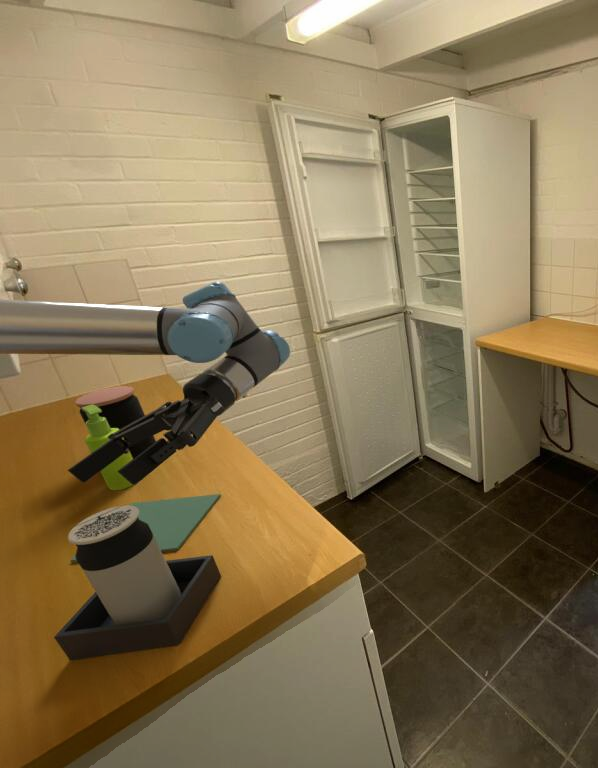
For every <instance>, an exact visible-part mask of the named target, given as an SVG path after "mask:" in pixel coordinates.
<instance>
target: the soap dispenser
mask: <svg viewBox="0 0 598 768" xmlns="http://www.w3.org/2000/svg"><path fill="white" fill-rule="evenodd" d="M82 410H83V411H85V412H86V414H87V416H88V418H89V420H88V421H87V422H86V423H85V422H84V424H85V426H86V429H87V430H88V433H89V434H88V435H86V437H85V438H84V439H83V440H84V442H85V445H86V446H87V448H88V450H89V453H90V454H91V453H93V452H94V451H96V450H97V449H98V448H100V447H101V446H103V445H104V444H106V443H107V442H108V441H110V439H109V438H108V436H109V435H110V434H112V433H114V432H116V431H118V430H119V429H118V428H110V426H109V424H108V422H107V419H106V418H105V417H99V415H98V413H101V412H102V410H101V409H99V408H98V407H97V406H95V405H93V404H92V405H89V406H85V407H82ZM122 439H123V440H124V438H122ZM131 460H133V458H132V455H131V453H130V451H129V452H128V453H127V454H123V455H121V456H120V457H119V458H117V459H116V460H115V461H113V462H112V463H111V464H109V465H108V466H106V467H105V468H104V469H102V470H101V471H100V472H99V473H100V474H101V476H102V478H103V480H104V482H105V484H106V486H107V487H108V489H109V490H110V491H121V490H125V489H128V488H130V487H133V485H132V484H131V483H130V482H129V481H128V480H127V479H125V478H124V477H123V476H122V475H121V474H120V473H119V472H117V471H118V470H120V469H121V468H122V467H124V466H125V465H126V464H128V463H129V462H130V461H131Z"/></svg>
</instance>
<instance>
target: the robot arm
mask: <svg viewBox="0 0 598 768" xmlns="http://www.w3.org/2000/svg"><path fill="white" fill-rule="evenodd" d="M182 303H183V305H184V306H185V307H164V306H146V305H145V306H144V305H127V304H104V303H83V302H66V301H65V302H62V301H43V300H41V301H40V300H21V299H2V298H1V299H0V355H97V356H99V355H104V356H110V355H112V356H113V355H114V356H115V355H117V356H126V355H127V356H177V357H178V358H180V359H182V360H184V361H188V362H190V363H195V364H206V363H210V362H211V363H212V362H213V361H215V362H214V363H212V364H211V365H210V366H208V367H207V368H205V369H204V370H203V372H201V373H199V374H198V375H196V376H194V377H193V378H192V379H190V380H189V381H187V382H186V383H184V385H182V394H183V399H182V400H180V399H179V400H176V401H174V402H172V401H166V402H165V403H164V404H162V405H161V406H159V407H158V408H156V409H154V410H153V411H151V412H149V413H147V414H145V416H143V417H142V418H140V419H138V420H136V421H134V422H133V423H131V424H129V425H127V426H125V427H123V428H122V429H120V430H118V431H116V432H114V433H112V434H110V435H109V436H108V438H109V439H110V441H108V442H107V443H106V444H104V445H103V446H101V447H100V448H98V449H97V450H96V451H94V452H93V453H91V452H90V453H89V454H88V455H87V456H86V457H84V458H83V459H81V460H79V461H78V462H77V463H75V464H74V465H73V466H71V467H70V468H68V469H67V472H69V473H70V474H71V475H73V477H75V478H76V479H77V480H79V482H81V483H86V482H88V481H89V480H90V479H93V477H95V476H96V475H97V474H99V473H101V472H100V471H101V470H102V469H104V468H105V467H106V466H108V465H109V464H111V463H112V462H113V461H115V460H116V459H117V458H119V457H120V456H121V455H123V454H127V453H128V452H129V449H128V448H129V447H131V446H133V445H135V444H137V443H139V442H141V441H143V440H145V439H147V438H149V437H151V436H153V435H154V436H155V435H158V434H159V433H161V432H163V431H166V432H164V433H162V435H163V437H160V438H159V439H157V440H156V442H155V443H154V444H152V445H151V446H150V447H148V448H147V449H146V450H145V451H143V452H142V453H141V454H139V455H138V456H137V457H135V458H134V459H133V460H131V461H130V462H129V463H128V464H126V465H125V466H124V467H122V468H121V469H120V470H118V471H117V472H119V473H120V474H121V475H122V476H123V477H124V478H125V479H127V480H128V481H129V482H130V483H131V484H132V486H134V485H137V484H138V483H140V482H141V481H142V480H143V479H145V478H146V477H147V476H148V475H149V474H150V473H152V472H154V470H156V469H157V468H158V467H159V466H160V465H162V463H164V462H165V461H166V460H168V459H169V458H170V457H172V456H173V455H174V454H176V453H177V451H181V450H183V449H185V448H186V447H189V448H192V447H194V446H195V445H197V443H198V442H199V441H200V440H201V438H202V437H203V436H204V434H205V432H207V430H209V428H210V427H211V425H212V424H213V423H214V422H215V420H216V419H217V417H220V416H221V415H222V414H224V413H225V412H226V411H228V409H230V408H231V407H232V406H234V405H235V403H236V402H238V401H240V400H241V399H242V398H243V399H245V398H247V397H248V393H249V392H251V391H252V390H253V389H254V388H255V387H256V386H258V385H259V384H260V383H261V382H263V381H264V380H265V379H267V378H268V377H269V376H270V375H272V374H273V373H274V372H276V371H277V370H279V369H280V368H281V367H282V365H284V363H286V362H287V361H288V359H289V358H290V356H291V348H290V345H289V343H288V342H287V340H286V339H285V338H284V337H283V336H281V335H280V334H279V333H278V332H276V331H274V330H270V329H264V330H262V329H260V328H259V326H258V324H257V323H256V322H255V321H254V319H253V318H252V317H251V315H250V314H249V313H248V312H247V311H246V309H245V308H244V307H243V305H242V304H241V302H240V301H239V299H238V298H237V296H236V295H235V294H234V293H233V292H232V291H231V290H230V289H229V288H228V287H227V286H226V285H225V283H224V282H222V281H214V282H211V283H208V284H206V285H203V286H202V287H199V288H198V289H195V290H194V291H192V292H189V293H188V294H186V295H184V296H183V297H182ZM224 353H225V354H226V355H225V356H224V357H222V356H223V355H224ZM220 357H222V358H220ZM219 358H220V359H219ZM217 359H219V360H218V361H216V360H217ZM122 438H124V439H125V440H123V439H122Z"/></svg>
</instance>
